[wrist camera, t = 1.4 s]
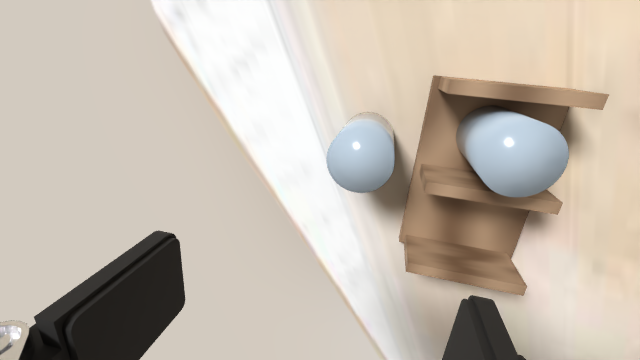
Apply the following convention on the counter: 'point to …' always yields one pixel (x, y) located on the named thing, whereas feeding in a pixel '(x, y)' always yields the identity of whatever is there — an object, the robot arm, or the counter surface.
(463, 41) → the counter surface
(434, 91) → the rack
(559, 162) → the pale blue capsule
